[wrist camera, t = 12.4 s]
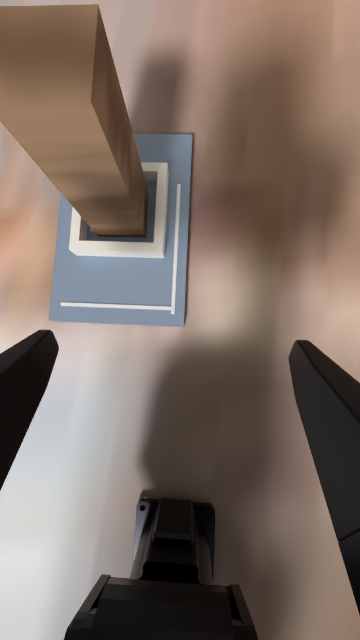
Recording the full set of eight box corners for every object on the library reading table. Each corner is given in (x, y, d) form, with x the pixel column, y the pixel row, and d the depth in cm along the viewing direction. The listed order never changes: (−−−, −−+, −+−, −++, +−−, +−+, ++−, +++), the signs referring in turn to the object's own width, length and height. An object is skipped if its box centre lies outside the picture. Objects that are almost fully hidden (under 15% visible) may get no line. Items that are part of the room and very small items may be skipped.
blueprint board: (183, 326, 23) (183, 324, 21) (54, 321, 24) (38, 318, 21) (192, 142, 25) (192, 120, 22) (71, 141, 25) (58, 119, 23)
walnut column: (146, 237, 23) (90, 101, 10) (98, 236, 23) (-17, 101, 10) (148, 191, 24) (98, 4, 11) (101, 191, 24) (-5, 6, 11)
